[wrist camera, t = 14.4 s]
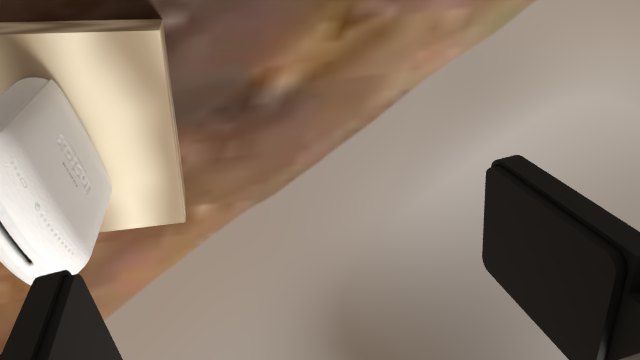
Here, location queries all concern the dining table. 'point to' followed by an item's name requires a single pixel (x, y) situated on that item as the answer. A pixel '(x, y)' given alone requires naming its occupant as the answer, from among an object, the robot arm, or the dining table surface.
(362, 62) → the dining table surface
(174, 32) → the dining table surface
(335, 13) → the dining table surface
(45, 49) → the birch block
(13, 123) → the photo printer
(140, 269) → the dining table surface
